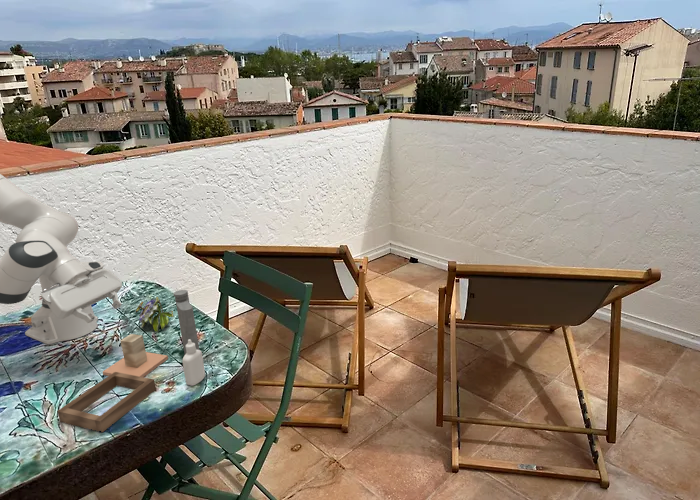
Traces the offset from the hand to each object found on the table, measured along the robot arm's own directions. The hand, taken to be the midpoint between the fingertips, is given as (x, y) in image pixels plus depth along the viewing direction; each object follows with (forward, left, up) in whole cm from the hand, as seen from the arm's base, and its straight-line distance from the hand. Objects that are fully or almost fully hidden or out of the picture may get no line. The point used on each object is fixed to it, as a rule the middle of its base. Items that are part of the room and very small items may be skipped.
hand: (105, 313), depth 127 cm
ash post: (+7, 0, -15) cm, 16 cm away
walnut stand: (+14, -16, -16) cm, 27 cm away
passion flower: (-6, +23, -16) cm, 29 cm away
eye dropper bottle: (+28, -1, -16) cm, 32 cm away
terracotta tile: (+7, 0, -16) cm, 17 cm away
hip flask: (+18, +10, -16) cm, 26 cm away
